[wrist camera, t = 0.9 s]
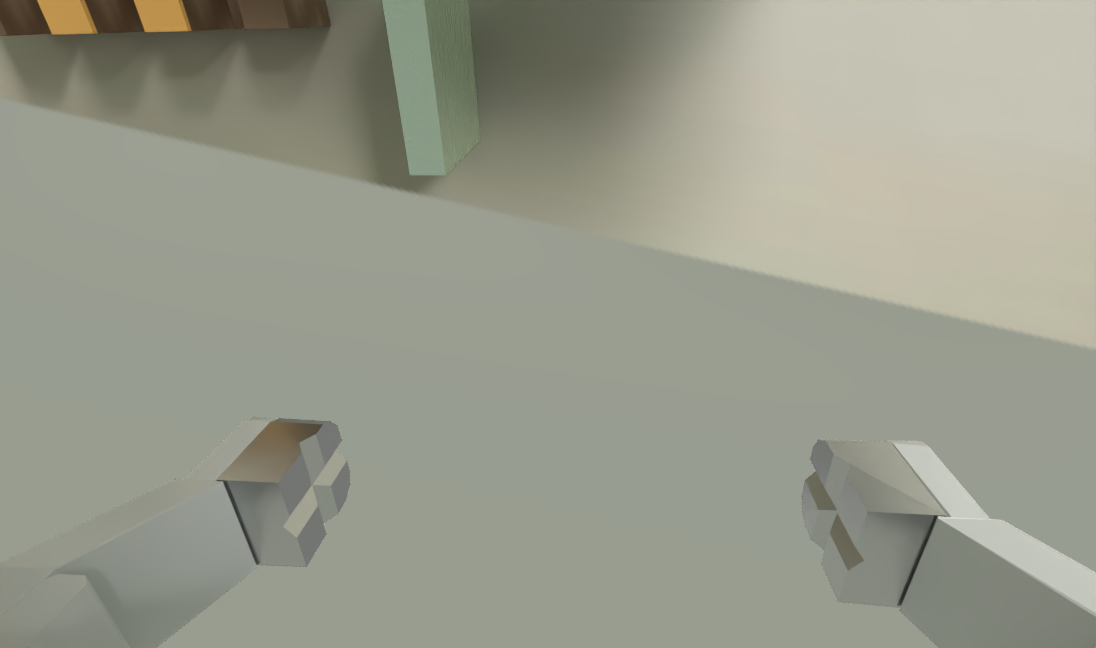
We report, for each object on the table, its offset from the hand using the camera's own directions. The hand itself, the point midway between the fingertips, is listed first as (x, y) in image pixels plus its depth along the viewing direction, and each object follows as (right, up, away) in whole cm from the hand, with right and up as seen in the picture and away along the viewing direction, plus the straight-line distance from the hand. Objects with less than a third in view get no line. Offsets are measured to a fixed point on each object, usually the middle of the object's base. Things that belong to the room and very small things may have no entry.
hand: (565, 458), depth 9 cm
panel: (-6, +20, +24) cm, 32 cm away
